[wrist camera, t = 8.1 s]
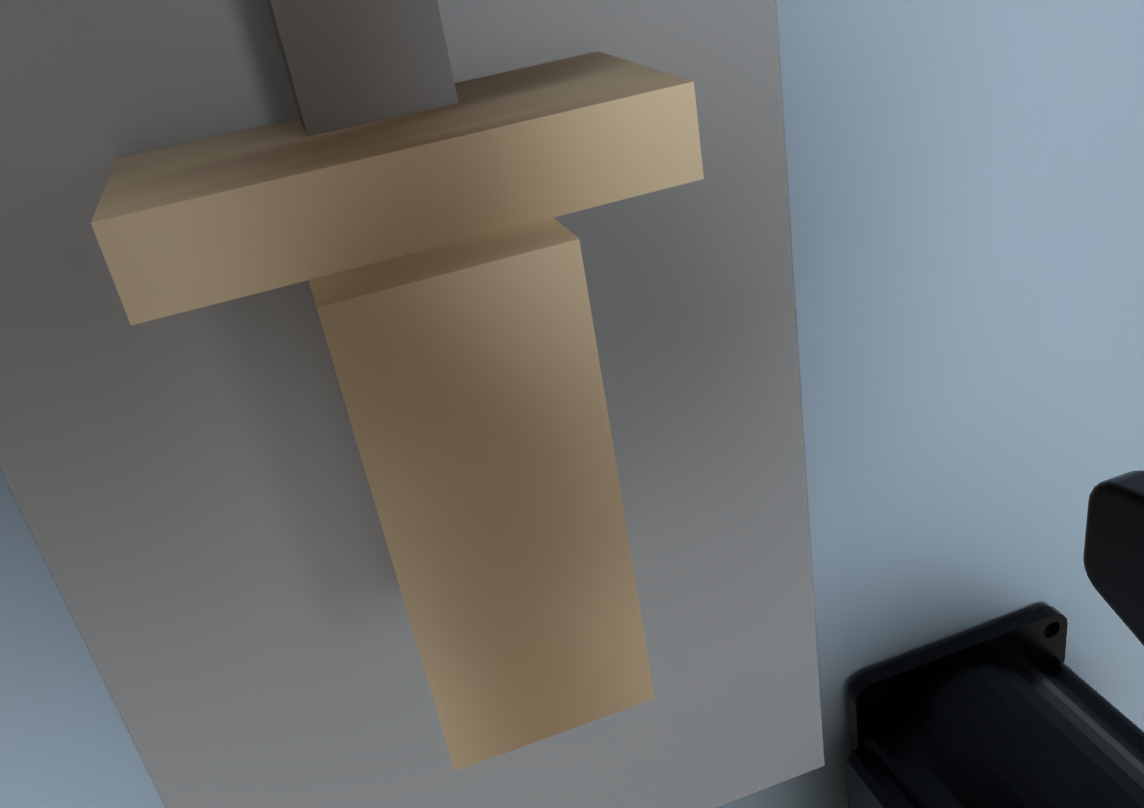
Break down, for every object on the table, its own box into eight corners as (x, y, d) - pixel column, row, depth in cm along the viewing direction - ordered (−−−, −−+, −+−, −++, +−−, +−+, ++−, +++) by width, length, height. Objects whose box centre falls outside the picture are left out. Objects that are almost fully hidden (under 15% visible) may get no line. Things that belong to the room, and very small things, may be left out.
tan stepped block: (656, -297, 14) (833, -386, 10) (736, 482, 19) (869, 620, 16) (-154, -174, 12) (-333, -224, 8) (200, 655, 17) (198, 865, 14)
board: (674, -230, 17) (760, -258, 14) (763, 682, 26) (824, 765, 24) (-186, -88, 14) (-275, -91, 12) (249, 872, 23) (254, 989, 21)
